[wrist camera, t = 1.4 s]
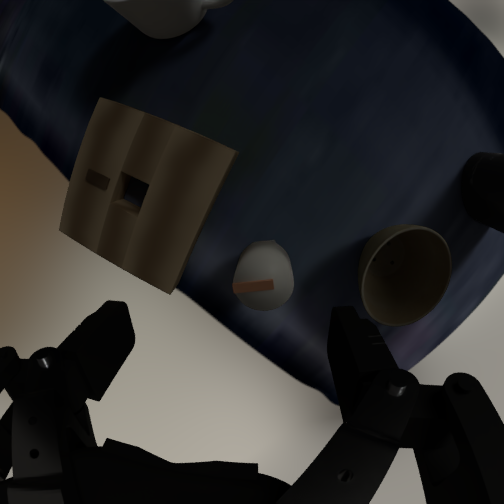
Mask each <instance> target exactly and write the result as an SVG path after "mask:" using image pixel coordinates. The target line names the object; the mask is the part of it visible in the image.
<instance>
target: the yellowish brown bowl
mask: <svg viewBox="0 0 504 504" xmlns="http://www.w3.org/2000/svg"><path fill="white" fill-rule="evenodd" d="M387 242H388V244H387ZM374 259H376V260H375V261H373V260H374ZM392 261H393V262H392ZM451 272H452V258H451V253H450V250H449V247H448V245H447V243H446V241H445V240H444V239H443V238H442V236H441V235H440V234H438V233H437V232H435V231H434V230H432V229H429V228H426V227H423V226H418V225H408V224H404V225H395V226H391V227H388V228H385V229H383V230H381V231H379V232H377V233H376V234H375V235H373V236H372V237H371V238H370V239H369V241H368V242H367V243H366V245H365V246H364V249H363V251H362V253H361V256H360V260H359V266H358V284H359V291H360V295H361V299H362V302H363V305H364V307H365V309H366V311H367V313H368V314H369V315H370V316H371V317H372V318H373V319H374V320H375V321H377V322H379V323H381V324H383V325H387V326H405V325H409V324H411V323H414V322H416V321H418V320H420V319H421V318H423V317H424V316H426V315H427V314H428V313H429V312H431V311H432V310H433V309H434V308H435V306H436V305H437V304H438V303H439V301H440V300H441V299H442V297H443V295H444V293H445V292H446V289H447V287H448V284H449V281H450V278H451Z"/></svg>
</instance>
